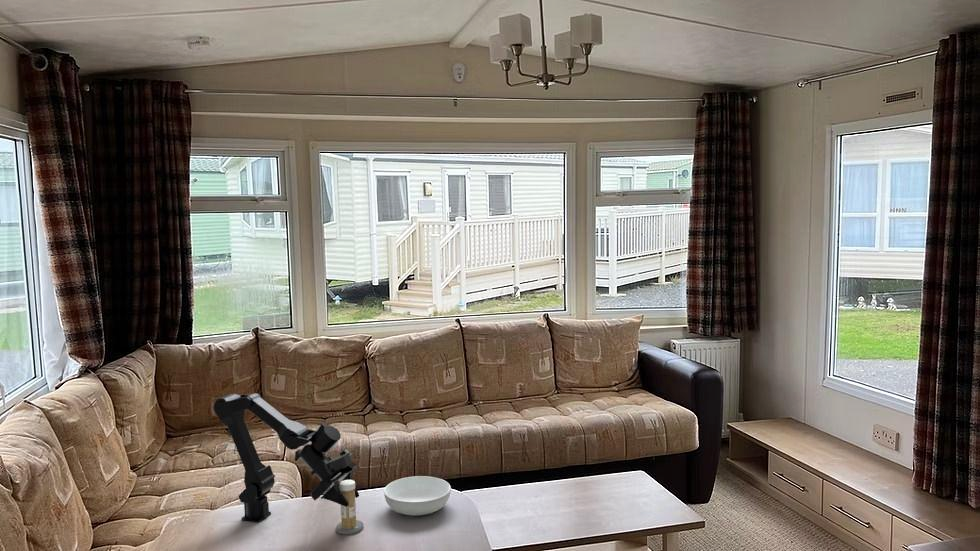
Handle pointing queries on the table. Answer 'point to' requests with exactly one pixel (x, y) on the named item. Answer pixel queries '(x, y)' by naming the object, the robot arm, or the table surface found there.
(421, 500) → the serving bowl
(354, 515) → the sprinkles bottle
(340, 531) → the coaster
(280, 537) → the table surface
